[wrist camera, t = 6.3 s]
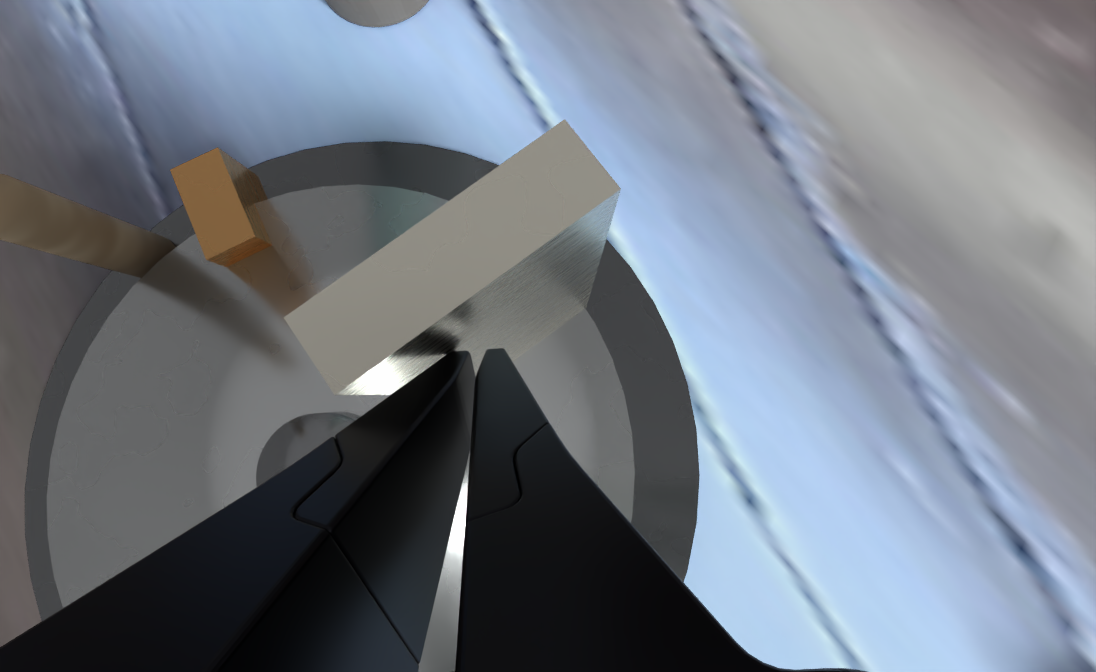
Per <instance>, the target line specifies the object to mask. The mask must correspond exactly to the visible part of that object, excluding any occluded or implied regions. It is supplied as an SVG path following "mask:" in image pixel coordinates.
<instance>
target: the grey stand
mask: <svg viewBox="0 0 1096 672" xmlns="http://www.w3.org/2000/svg"><path fill="white" fill-rule="evenodd" d="M170 171H171V174H172V176H173V179H174V181H175V184H176V186H177V189H178V191H179V194H180V196H181V199H182V201H183V204H184V206H185V209H186V211H187V214H188V216H189V218H190V221H191V223H192V226H193V228H194V231H195V233H196V234H194V235H192V236H191V237H189V238H188V239H186V240H185V241H184V242H182V243H181V244H180V245H179V246H177V247H176V248H175V249H173V250H172V251H171V252H170V253H168V254H167V255H166V256H164V257H163V258H162V259H161V260H159V261H158V262H157V263H156V264H155V265H154V266H153V267H152V268H151V269H150V270H149V271H148V272H147V273H146V274H145V275H144V276H143V277H142V278H141V279H140V280H139V281H138V282H137V283H136V284H135V285H134V286H133V287H132V288H131V289H130V291H129V292H128V293H127V294H126V295H125V297H124V298H123V299H122V300H121V302H120V303H119V304H118V305H117V307H116V308H115V309H114V310H113V312H112V313H111V314H110V315H109V317H108V318H107V320H106V321H105V323H104V325H103V326H102V328H101V329H100V331H99V332H98V334H97V336H96V337H95V339H94V340H93V342H92V343H91V345H90V347H89V348H88V350H87V352H86V354H85V356H84V358H83V361H82V363H81V365H80V367H79V369H78V371H77V373H76V375H75V377H74V379H73V381H72V383H71V386H70V389H69V392H68V395H67V398H66V401H65V404H64V406H63V409H62V412H61V415H60V418H59V421H58V426H57V430H56V435H55V440H54V444H53V449H52V453H51V458H50V468H49V478H48V489H47V528H48V543H49V549H50V555H51V562H52V568H53V574H54V579H55V583H56V586H57V589H58V593H59V596H60V600H61V603H62V606H63V608H64V607H66V606H67V605H69V604H71V603H72V602H74V601H75V600H77V599H79V598H80V597H82V596H83V595H85V594H87V593H88V592H90V591H91V590H93V589H95V588H96V587H98V586H99V585H101V584H103V583H104V582H106V581H107V580H109V579H111V578H112V577H114V576H115V575H117V574H119V573H120V572H122V571H123V570H125V569H127V568H128V567H130V566H131V565H133V564H135V563H136V562H138V561H139V560H141V559H143V558H144V557H146V556H148V555H149V554H151V553H152V552H154V551H156V550H157V549H159V548H160V547H162V546H164V545H165V544H167V543H168V542H170V541H172V540H173V539H175V538H176V537H178V536H180V535H181V534H183V533H184V532H186V531H188V530H189V529H191V528H192V527H194V526H196V525H197V524H199V523H200V522H202V521H204V520H205V519H207V518H208V517H210V516H212V515H213V514H215V513H216V512H218V511H220V510H221V509H223V508H224V507H226V506H228V505H229V504H231V503H232V502H234V501H236V500H237V499H239V498H240V497H242V496H244V495H245V494H247V493H248V492H250V491H252V490H253V489H255V488H256V487H258V486H260V485H261V484H263V483H264V482H266V481H267V480H269V479H271V478H272V477H274V476H275V475H277V474H278V473H280V472H281V471H283V470H285V469H286V468H288V467H289V466H291V465H292V464H294V463H295V462H296V461H298V460H299V459H301V458H302V457H304V456H305V455H307V454H308V453H309V452H311V451H312V450H314V449H315V448H317V447H318V446H319V445H321V444H322V443H324V442H325V441H326V440H328V439H329V438H330V437H335V435H336V434H337V433H339V432H340V431H341V430H343V429H344V428H345V427H347V426H348V425H350V424H351V423H352V422H354V421H355V420H357V419H358V418H359V417H361V416H362V415H363V414H365V413H366V412H368V411H369V410H370V409H372V408H373V407H375V406H376V405H377V404H379V403H380V402H382V401H383V400H384V399H386V398H387V397H388V396H390V395H391V394H393V393H394V392H395V391H397V390H398V389H400V388H401V387H402V386H404V385H405V384H406V383H408V382H409V381H411V380H412V379H413V378H415V377H416V376H418V375H419V374H420V373H422V372H423V371H424V370H426V369H427V368H429V367H430V366H431V365H433V364H434V363H436V362H437V361H438V360H440V359H441V358H442V357H444V356H445V355H447V354H448V353H450V352H452V351H464V350H466V351H469V353H470V354H471V358H472V363H473V367H474V372H475V377H476V374H477V372H478V369H479V366H480V364H481V361H482V359H483V356H484V354H485V351H486V350H487V349H497V348H503V349H505V350H506V352H507V353H508V355H509V357H510V358H511V360H512V362H513V363H514V365H515V367H516V368H517V370H518V372H519V373H520V375H521V377H522V378H523V380H524V382H525V383H526V385H527V386H528V388H529V390H530V391H531V393H532V395H533V396H534V398H535V400H536V401H537V403H538V405H539V406H540V408H541V410H542V411H543V413H544V415H545V416H546V418H547V420H548V421H549V423H550V424H551V425H552V427H553V429H554V430H555V432H556V433H557V435H558V437H559V438H560V440H561V441H562V443H563V444H564V445H565V447H566V448H567V450H568V451H569V453H570V454H571V455H572V456H573V458H574V459H575V460H576V461H577V462H578V464H579V465H580V466H581V467H582V469H583V470H584V471H585V472H586V473H587V474H588V475H589V476H590V478H591V479H592V480H593V481H594V482H595V483H596V484H597V486H598V487H599V488H600V489H601V490H602V491H603V492H604V493H605V495H606V496H607V497H608V498H609V499H610V500H611V501H612V502H613V504H614V505H615V506H616V507H617V508H618V509H619V510H620V511H621V513H622V514H623V515H624V516H625V517H626V518H627V519H628V521H629V522H630V523H631V520H632V513H633V496H634V479H635V469H634V454H633V440H632V431H631V426H630V420H629V415H628V410H627V405H626V400H625V395H624V392H623V389H622V386H621V383H620V380H619V377H618V374H617V371H616V368H615V365H614V362H613V359H612V357H611V355H610V353H609V351H608V349H607V347H606V345H605V343H604V341H603V338H602V336H601V334H600V332H599V330H598V328H597V326H596V324H595V322H594V321H593V319H592V318H591V316H590V315H589V313H588V312H587V310H586V309H585V308H586V307H587V303H588V300H589V296H590V293H591V289H592V286H593V283H594V279H595V276H596V272H597V269H598V266H599V262H600V259H601V255H602V252H603V248H604V245H605V242H606V238H607V235H608V231H609V228H610V224H611V221H612V218H613V214H614V211H615V207H616V204H617V201H618V197H619V194H620V190H621V188H620V187H619V186H618V185H617V184H616V182H615V181H614V180H613V179H612V177H611V176H610V175H609V174H608V172H607V171H606V170H605V169H604V167H603V166H602V165H601V164H600V162H599V161H598V160H597V159H596V158H595V156H594V155H593V154H592V153H591V151H590V150H589V149H588V148H587V146H586V145H585V144H584V143H583V141H582V140H581V139H580V138H579V136H578V135H577V134H576V133H575V132H574V130H573V129H572V128H571V127H570V125H569V124H568V123H567V122H566V120H563V121H562V122H560V123H559V124H558V125H556V126H555V127H553V128H552V129H550V130H549V131H548V132H546V133H545V134H543V135H542V136H540V137H539V138H538V139H536V140H535V141H533V142H532V143H531V144H529V145H528V146H526V147H525V148H523V149H522V150H521V151H519V152H518V153H516V154H515V155H514V156H512V157H511V158H509V159H508V160H506V161H505V162H504V163H502V164H501V165H499V166H498V167H497V168H495V169H494V170H492V171H491V172H489V173H488V174H487V175H485V176H484V177H482V178H481V179H479V180H478V181H477V182H475V183H474V184H472V185H471V186H470V187H468V188H467V189H465V190H464V191H462V192H461V193H460V194H458V195H457V196H455V197H454V198H453V199H451V200H450V201H448V200H445V199H442V198H439V197H436V196H433V195H430V194H427V193H422V192H417V191H412V190H407V189H402V188H397V187H388V186H374V185H359V184H357V185H340V186H323V187H317V188H312V189H306V190H301V191H295V192H290V193H286V194H283V195H279V196H276V197H273V198H270V199H267V196H266V194H265V192H264V189H263V187H262V185H261V182H260V180H259V178H258V176H257V175H256V174H254V173H253V172H251V171H250V170H249V169H247V168H246V167H244V166H243V165H242V164H240V163H239V162H237V161H236V160H235V159H233V158H232V157H230V156H229V155H228V154H226V153H225V152H223V151H222V150H221V149H219V148H218V147H217V148H215V149H213V150H211V151H209V152H207V153H205V154H203V155H200V156H198V157H196V158H194V159H192V160H190V161H188V162H186V163H183V164H181V165H179V166H177V167H175V168H173V169H171V170H170ZM469 460H470V453H469V457H468V461H467V466H466V470H465V474H464V478H463V483H462V487H461V491H460V495H459V500H458V504H457V508H456V512H455V517H454V521H453V525H452V529H451V534H450V538H449V542H448V546H447V551H446V555H445V559H444V563H443V568H442V572H441V576H440V580H439V584H438V589H437V593H436V597H435V601H434V606H433V610H432V614H431V618H430V623H429V627H428V631H427V635H426V640H425V644H424V648H423V652H422V657H421V661H420V663H419V664H418V665H419V669H418V672H455V664H456V650H457V635H458V620H459V605H460V590H461V575H462V560H463V545H464V530H465V519H466V504H467V489H468V474H469Z"/></svg>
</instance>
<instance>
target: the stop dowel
mask: <svg viewBox="0 0 1096 672" xmlns="http://www.w3.org/2000/svg"><path fill="white" fill-rule="evenodd" d="M0 240H3V241H7V242H11V243H14V244H18V245H22V246H25V247H29V248H33V249H36V250H40V251H44V252H47V253H51V254H55V255H58V256H62V257H66V258H69V259H73V260H76V261H80V262H84V263H87V264H91V265H95V266H98V267H102V268H106V269H109V270H113V271H117V272H120V273H124V274H128V275H131V276H135V277H139V278H142V277H143V276H144V275H145V274H146V273H147V272H148V271H149V270H150V269H151V268H152V267H153V266H154V265H155V264H156V263H157V262H158V261H159V260H161V259H162V258H163V257H164V256H166V255H167V254H168V253H170V252H171V251H172V250H173V249H175V246H174V244H173V243H172V242H171V241H170V240H169V239H167V238H165V237H163V236H160V235H158V234H155V233H153V232H150V231H148V230H145V229H142V228H140V227H137V226H135V225H132V224H130V223H127V222H125V221H122V220H120V219H117V218H114V217H112V216H109V215H107V214H104V213H102V212H99V211H97V210H94V209H92V208H89V207H86V206H84V205H81V204H79V203H76V202H74V201H71V200H69V199H66V198H63V197H61V196H58V195H56V194H53V193H51V192H48V191H46V190H43V189H41V188H38V187H35V186H33V185H30V184H28V183H25V182H23V181H20V180H18V179H15V178H13V177H10V176H7V175H4V174H0Z"/></svg>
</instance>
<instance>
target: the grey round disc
mask: <svg viewBox="0 0 1096 672" xmlns="http://www.w3.org/2000/svg"><path fill="white" fill-rule="evenodd" d="M498 166H499V165H497V164H494V163H491V162H488V161H485V160H482V159H479V158H477V157H474V156H471V155H468V154H465V153H461V152H457V151H452V150H447V149H443V148H438V147H433V146H428V145H422V144H410V143H398V142H386V141H383V142H358V143H342V144H336V145H330V146H324V147H318V148H312V149H306V150H302V151H299V152H295V153H292V154H289V155H285V156H282V157H278V158H275V159H271V160H268V161H265V162H263V163H260V164H258V165H256V166H253V167H251V168H249V170H250V171H251V172H253V173H254V174H256V175H257V176H258V178H259V180H260V182H261V185H262V187H263V189H264V192H265V194H266V196H267V199H270V198H273V197H276V196H279V195H283V194H286V193H290V192H295V191H301V190H306V189H312V188H317V187H323V186H340V185H357V184H359V185H374V186H388V187H397V188H402V189H407V190H412V191H417V192H422V193H427V194H430V195H433V196H436V197H439V198H442V199H445V200H448V201H450V200H451V199H453V198H454V197H455V196H457V195H458V194H460V193H461V192H462V191H464V190H465V189H467V188H468V187H470V186H471V185H472V184H474V183H475V182H477V181H478V180H479V179H481V178H482V177H484V176H485V175H487V174H488V173H489V172H491V171H492V170H494V169H495V168H497V167H498ZM150 232H153V233H155V234H158V235H160V236H163V237H165V238H167V239H169V240H170V241H171V242H172V243H173V244H174V246H175V248H176V247H177V246H179V245H180V244H181V243H182V242H184V241H185V240H186V239H188V238H189V237H191V236H192V235H194V234H196V233H195V231H194V228H193V226H192V223H191V221H190V218H189V216H188V214H187V211H186V209H185V206H184V205H182V206H181V207H179V208H178V209H177V210H175V211H174V212H173V213H171V214H170V215H169V216H167V217H166V218H165V219H163V220H162V221H161V222H159V223H158V224H157V225H156V226H155V227H154V228H153V229H152V230H151V231H150ZM140 279H141V278H139V277H135V276H131V275H128V274H124V273H120V272H117V271H113V270H112V271H111V272H110V274H109V275H108V276H107V277H106V278H105V279H104V281H103V282H102V283H101V284H100V286H99V287H98V289H97V290H96V292H95V293H94V295H93V296H92V298H91V299H90V301H89V302H88V304H87V305H86V307H85V308H84V310H83V311H82V313H81V314H80V316H79V317H78V319H77V320H76V322H75V324H74V326H73V328H72V330H71V332H70V334H69V336H68V338H67V340H66V342H65V344H64V345H63V347H62V349H61V351H60V353H59V355H58V357H57V359H56V362H55V364H54V367H53V370H52V372H51V375H50V378H49V380H48V383H47V386H46V389H45V391H44V394H43V397H42V399H41V402H40V406H39V411H38V415H37V419H36V423H35V427H34V431H33V435H32V439H31V443H30V451H29V459H28V467H27V476H26V484H25V538H26V546H27V554H28V561H29V569H30V577H31V582H32V586H33V590H34V594H35V597H36V601H37V605H38V609H39V612H40V616H41V620H42V621H43V620H45V619H47V618H48V617H50V616H51V615H53V614H55V613H56V612H58V611H59V610H61V609H63V606H62V603H61V600H60V596H59V593H58V589H57V586H56V583H55V579H54V574H53V568H52V562H51V555H50V549H49V543H48V528H47V489H48V478H49V468H50V458H51V453H52V449H53V444H54V440H55V435H56V430H57V426H58V421H59V418H60V415H61V412H62V409H63V406H64V404H65V401H66V398H67V395H68V392H69V389H70V386H71V383H72V381H73V379H74V377H75V375H76V373H77V371H78V369H79V367H80V365H81V363H82V361H83V358H84V356H85V354H86V352H87V350H88V348H89V347H90V345H91V343H92V342H93V340H94V339H95V337H96V336H97V334H98V332H99V331H100V329H101V328H102V326H103V325H104V323H105V321H106V320H107V318H108V317H109V315H110V314H111V313H112V312H113V310H114V309H115V308H116V307H117V305H118V304H119V303H120V302H121V300H122V299H123V298H124V297H125V295H126V294H127V293H128V292H129V291H130V289H131V288H132V287H133V286H134V285H135V284H136V283H137V282H138V281H139V280H140ZM585 309H586V310H587V312H588V313H589V315H590V316H591V318H592V319H593V321H594V322H595V324H596V326H597V328H598V330H599V332H600V334H601V336H602V338H603V341H604V343H605V345H606V347H607V349H608V351H609V353H610V355H611V357H612V359H613V362H614V365H615V368H616V371H617V374H618V377H619V380H620V383H621V386H622V389H623V392H624V395H625V400H626V405H627V410H628V415H629V420H630V426H631V431H632V440H633V454H634V469H635V479H634V496H633V513H632V520H631V524H632V525H633V526H634V527H635V528H636V530H637V531H638V532H639V533H640V534H641V535H642V536H643V537H644V539H645V540H646V541H647V542H648V543H649V544H650V545H651V546H652V548H653V549H654V550H655V551H656V552H657V553H658V554H659V556H660V557H661V558H662V559H663V560H664V561H665V562H666V563H667V565H668V566H669V567H670V568H671V569H672V570H673V571H674V572H675V574H676V575H677V576H678V577H679V578H680V579H681V580H682V581H683V582H684V579H685V576H686V573H687V569H688V564H689V559H690V554H691V548H692V543H693V538H694V533H695V528H696V521H697V505H698V489H699V463H698V448H697V433H696V425H695V420H694V415H693V410H692V405H691V400H690V395H689V390H688V385H687V382H686V379H685V376H684V373H683V370H682V367H681V364H680V361H679V358H678V355H677V352H676V349H675V346H674V343H673V341H672V338H671V336H670V334H669V332H668V330H667V328H666V326H665V324H664V322H663V320H662V318H661V316H660V314H659V312H658V310H657V308H656V306H655V304H654V302H653V300H652V299H651V297H650V296H649V294H648V293H647V291H646V290H645V288H644V287H643V285H642V284H641V282H640V281H639V279H638V278H637V276H636V275H635V273H634V272H633V270H632V268H631V267H630V266H629V265H628V264H627V262H626V261H625V260H624V259H623V258H622V257H621V255H620V254H619V253H618V252H617V251H616V250H615V248H614V247H613V246H612V245H611V244H610V243H609V242H608V240H607V239H606V242H605V245H604V248H603V252H602V255H601V259H600V262H599V266H598V269H597V272H596V276H595V279H594V283H593V286H592V289H591V293H590V296H589V300H588V303H587V307H586V308H585Z"/></svg>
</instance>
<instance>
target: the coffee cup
mask: <svg viewBox="0 0 1096 672" xmlns="http://www.w3.org/2000/svg"><path fill="white" fill-rule="evenodd" d="M325 1H326V2H327V4H328V5H329V6H330V7H331V9H332V10H333V11H334V12H335V13H337V14H338V15H339V16H340V17H342V18H344V19H345V20H347V21H349V22H351V23H354V24H357V25H361V26H367V27H384V26H390V25H394V24H397V23H400V22H402V21H404V20H406V19H408V18H410V17H412V16H413V15H415V14H416V13H417V12H418V11H420V10H421V9H422V8H423V7H424V6H425V5H426V3H427V2H428V1H429V0H325Z"/></svg>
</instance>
